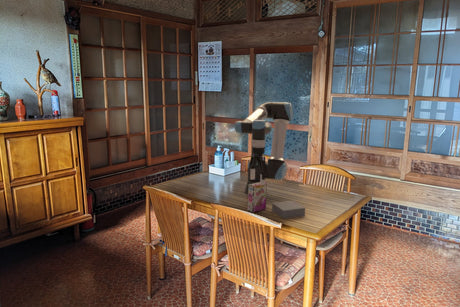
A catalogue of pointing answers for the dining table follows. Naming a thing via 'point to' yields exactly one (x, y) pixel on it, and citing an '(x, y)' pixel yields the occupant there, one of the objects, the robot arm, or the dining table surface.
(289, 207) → the block
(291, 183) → the dining table surface
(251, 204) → the candy bar box
